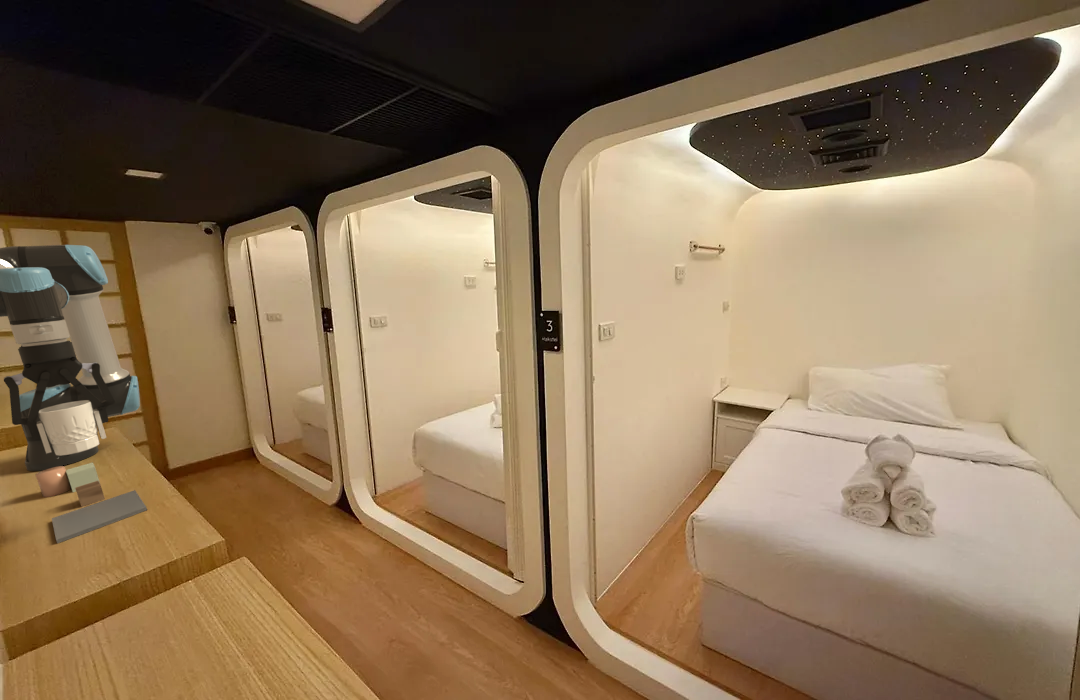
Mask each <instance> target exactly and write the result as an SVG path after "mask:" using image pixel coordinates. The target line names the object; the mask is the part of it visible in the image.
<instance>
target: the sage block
mask: <svg viewBox="0 0 1080 700" xmlns="http://www.w3.org/2000/svg"><path fill="white" fill-rule="evenodd" d="M66 472H67V476H68V479H69V482H70V485H71V492H72V493H75V492H76V489H75V488H76V487H79V486H82V485H85V484H89V483H92V482H95V481H99V483H100V484H101V482H100V479H99V475H98V473H97V469H96V466H95V464H94V462H89V463H86V464H81V465H79V466H75V467H72V468H68V469H66ZM76 493H77V492H76Z"/></svg>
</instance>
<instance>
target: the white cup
mask: <svg viewBox="0 0 1080 700" xmlns="http://www.w3.org/2000/svg"><path fill="white" fill-rule="evenodd" d="M38 415H39V417H40V420H41V422H42V424H43V427H44V430H45V432H46V434H47V437H48V439H49V441H50V443H51V444H52V446H53V449H54V452H55V454H56V455H69V454H73V453H78V452H82V451H85V450H88V449H91V448H93V447H96V446H99V445H100V439H99V430H98V427H97V424H96V420H95V416H94V412H93V407H92V403H91V402H90V401H89V400H83V401H75V402H69V403H64V404H59V405H55V406H51V407H47V408H44V409H41V410H39V413H38Z"/></svg>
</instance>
